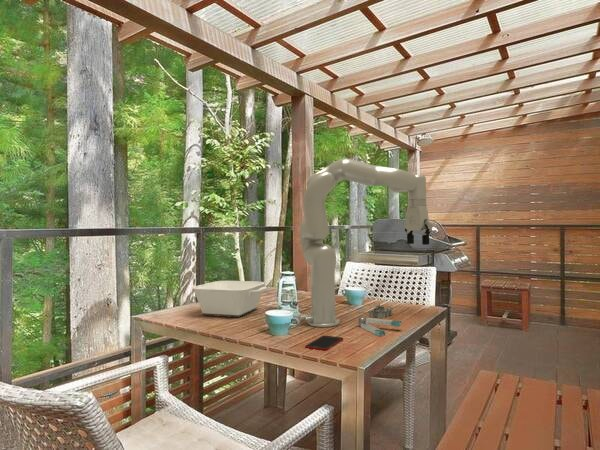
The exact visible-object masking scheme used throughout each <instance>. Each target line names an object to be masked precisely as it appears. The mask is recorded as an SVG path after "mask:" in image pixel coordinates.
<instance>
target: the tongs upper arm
mask: <svg viewBox="0 0 600 450" xmlns="http://www.w3.org/2000/svg"><path fill="white" fill-rule="evenodd" d="M402 322H403V321H402V320H397V319H396V320H395V319H394V320H393V319H392V320H391V319H385V318H377V317H367V318H366V323H368V324H371V325H372V324H374V325H383V326H389V327H390V326H391V327H399V328H400V327H401V326H403V325H402Z"/></svg>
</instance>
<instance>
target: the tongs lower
mask: <svg viewBox="0 0 600 450" xmlns="http://www.w3.org/2000/svg"><path fill="white" fill-rule="evenodd" d="M366 319H367V318H366V317H365V316H359V317H358V327H359V328H362V329H364V330H366V331H368V332H370V333H372V334H374V335H375V336H377V337H383V336H384V337H385V336H386V331H385V330H383V329H382V328H378V327H376V326H375V325H372V324H371V323H366Z"/></svg>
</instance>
